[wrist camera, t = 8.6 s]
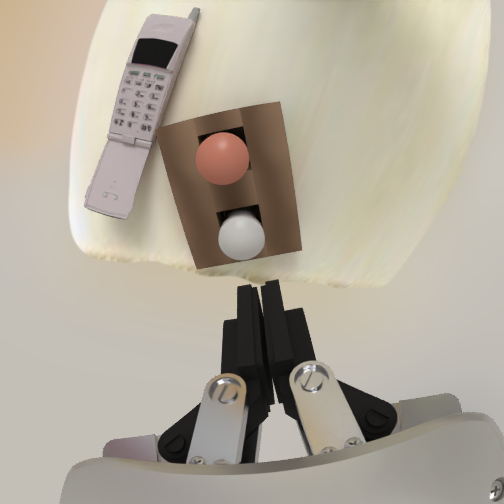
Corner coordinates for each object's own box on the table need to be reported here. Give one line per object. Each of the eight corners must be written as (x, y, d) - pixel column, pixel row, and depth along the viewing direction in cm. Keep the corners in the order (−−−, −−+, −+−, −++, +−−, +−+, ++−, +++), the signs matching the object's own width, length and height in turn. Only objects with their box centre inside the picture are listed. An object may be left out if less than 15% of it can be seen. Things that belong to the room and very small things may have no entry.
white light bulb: (256, 191, 31) (260, 214, 25) (262, 226, 33) (268, 255, 27) (218, 199, 32) (213, 223, 25) (227, 232, 34) (224, 263, 27)
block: (273, 103, 27) (279, 101, 23) (294, 231, 35) (301, 250, 30) (168, 126, 28) (155, 129, 23) (201, 248, 35) (196, 269, 31)
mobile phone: (82, 209, 26) (144, -12, 15) (103, 192, 31) (159, 5, 20) (128, 223, 27) (201, -6, 16) (144, 204, 32) (207, 12, 21)
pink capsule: (242, 124, 27) (243, 128, 20) (250, 163, 29) (253, 179, 22) (201, 133, 27) (190, 140, 21) (210, 171, 29) (202, 189, 23)
